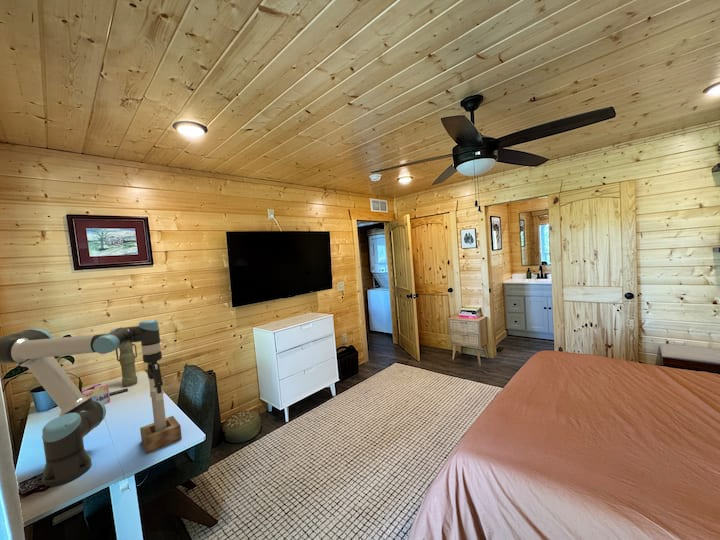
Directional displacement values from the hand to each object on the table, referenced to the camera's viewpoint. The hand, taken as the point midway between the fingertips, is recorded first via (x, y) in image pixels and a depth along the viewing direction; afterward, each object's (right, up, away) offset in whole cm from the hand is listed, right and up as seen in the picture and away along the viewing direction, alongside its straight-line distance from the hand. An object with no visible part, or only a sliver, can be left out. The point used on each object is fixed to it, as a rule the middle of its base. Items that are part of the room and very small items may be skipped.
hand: (156, 395), depth 147 cm
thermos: (-70, -25, +76) cm, 106 cm away
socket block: (+2, -22, +1) cm, 22 cm away
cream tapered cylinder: (+1, -22, +1) cm, 22 cm away
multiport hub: (-68, -26, +62) cm, 96 cm away
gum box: (-68, -26, +40) cm, 83 cm away
